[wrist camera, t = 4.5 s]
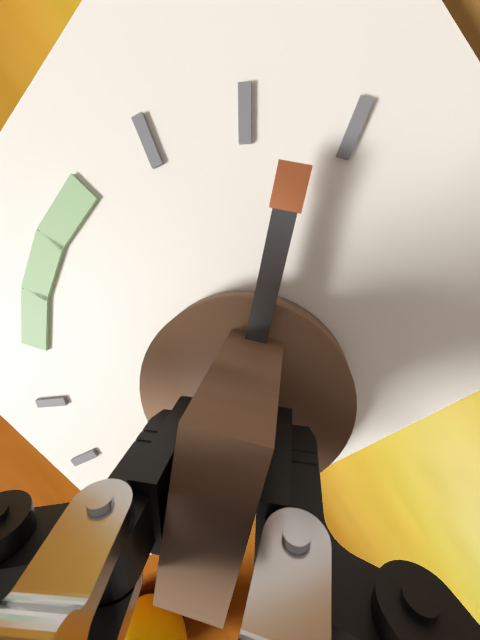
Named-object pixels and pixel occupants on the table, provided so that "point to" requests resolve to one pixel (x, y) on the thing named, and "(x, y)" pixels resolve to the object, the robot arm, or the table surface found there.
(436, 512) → the table surface
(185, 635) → the duckling
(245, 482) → the knob
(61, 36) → the dial board
